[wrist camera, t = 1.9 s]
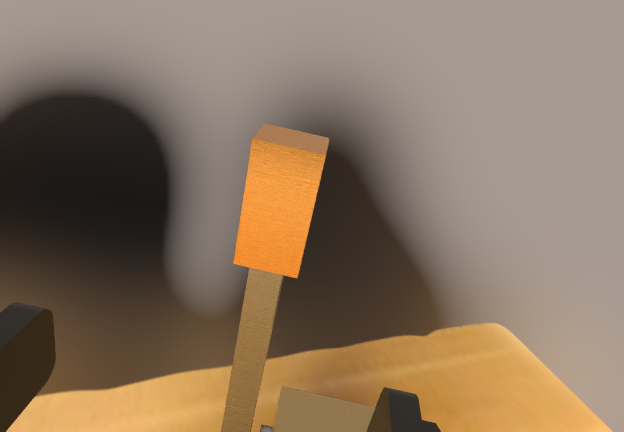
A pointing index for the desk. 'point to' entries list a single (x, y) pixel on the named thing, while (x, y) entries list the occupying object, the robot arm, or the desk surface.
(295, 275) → the lever
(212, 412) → the desk surface
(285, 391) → the block
